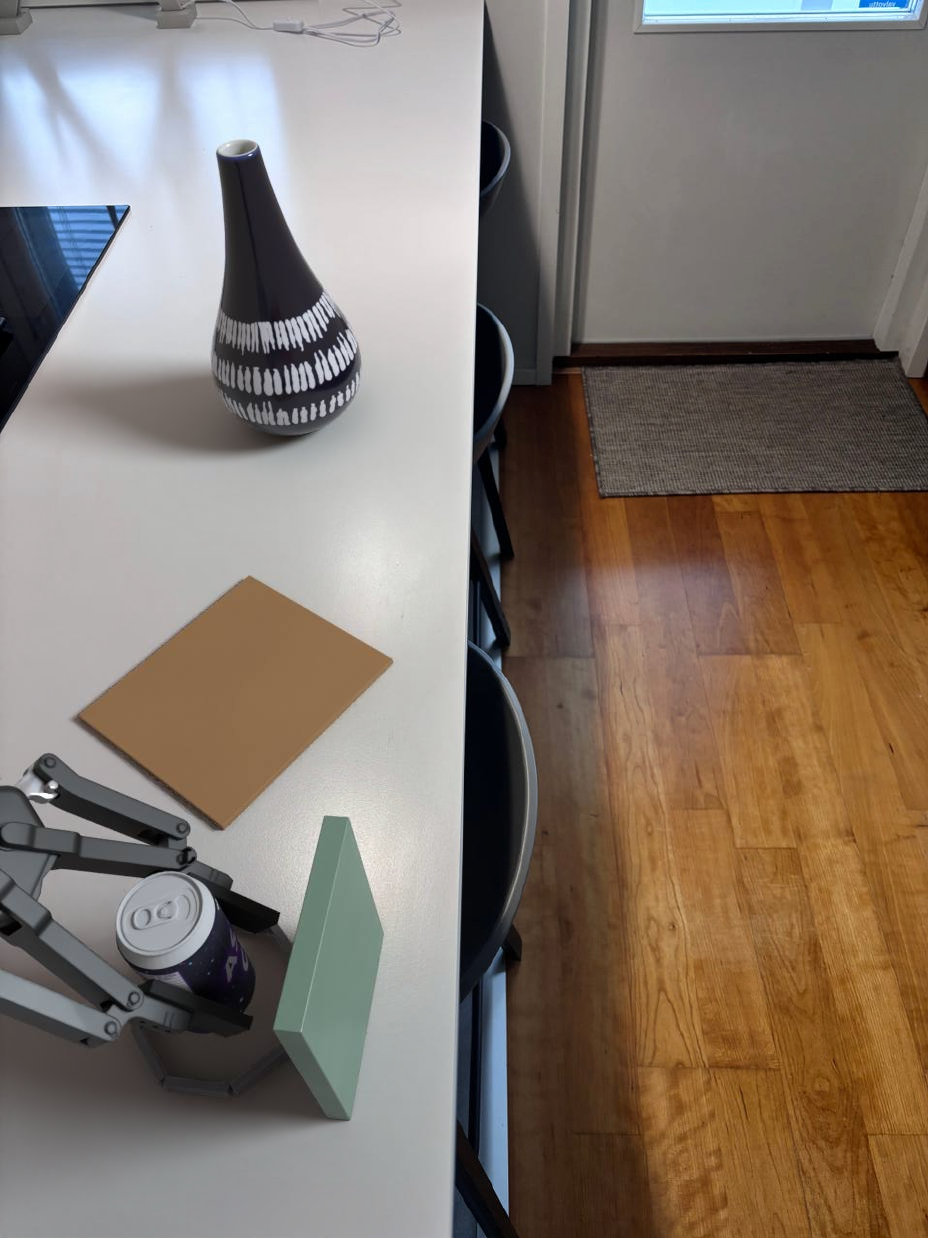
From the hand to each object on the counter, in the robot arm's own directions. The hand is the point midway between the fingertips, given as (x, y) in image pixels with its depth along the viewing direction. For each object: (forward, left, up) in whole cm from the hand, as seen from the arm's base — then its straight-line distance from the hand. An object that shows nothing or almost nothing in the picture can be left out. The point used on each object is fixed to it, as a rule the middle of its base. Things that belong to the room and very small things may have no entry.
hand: (253, 973), depth 58 cm
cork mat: (+17, +22, -7) cm, 29 cm away
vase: (+48, +45, -7) cm, 67 cm away
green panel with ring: (-1, +1, -7) cm, 7 cm away
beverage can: (-2, +3, -4) cm, 6 cm away
